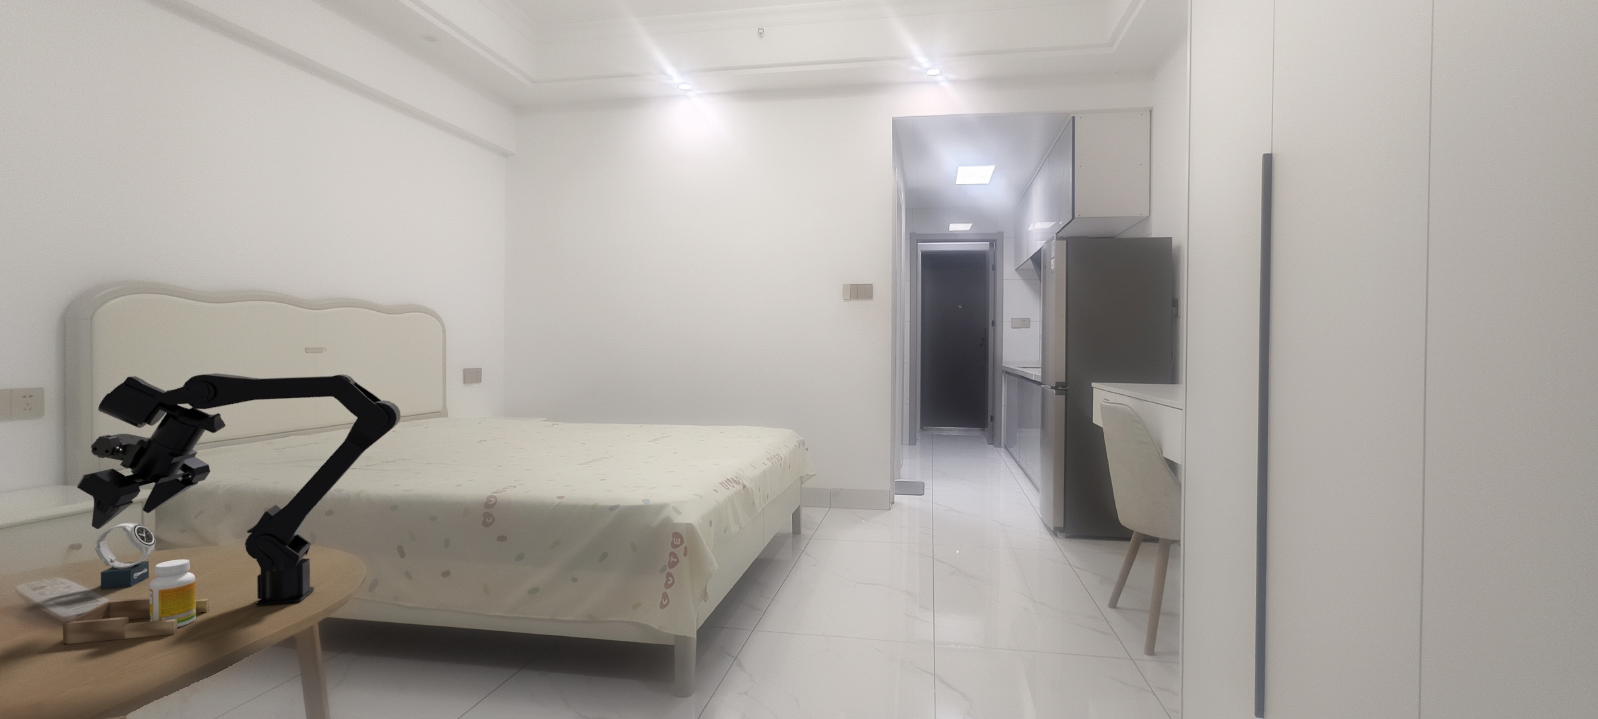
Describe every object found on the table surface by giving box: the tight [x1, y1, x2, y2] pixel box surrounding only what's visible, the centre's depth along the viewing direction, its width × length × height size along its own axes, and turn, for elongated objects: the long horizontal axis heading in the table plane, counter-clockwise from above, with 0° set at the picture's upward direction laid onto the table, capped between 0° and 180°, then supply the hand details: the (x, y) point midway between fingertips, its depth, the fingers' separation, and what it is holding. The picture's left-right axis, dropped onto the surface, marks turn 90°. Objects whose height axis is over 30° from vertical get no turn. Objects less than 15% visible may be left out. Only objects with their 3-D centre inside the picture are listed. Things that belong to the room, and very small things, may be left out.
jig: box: [62, 597, 210, 645], centre depth 107 cm, size 14×10×3 cm
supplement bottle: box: [149, 559, 197, 628], centre depth 108 cm, size 5×5×10 cm
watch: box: [94, 522, 157, 590], centre depth 126 cm, size 6×8×11 cm
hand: (121, 519), depth 113 cm, fingers open, 9 cm apart
